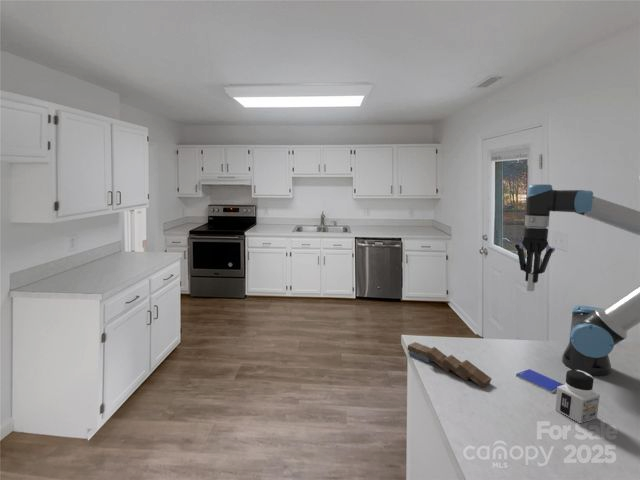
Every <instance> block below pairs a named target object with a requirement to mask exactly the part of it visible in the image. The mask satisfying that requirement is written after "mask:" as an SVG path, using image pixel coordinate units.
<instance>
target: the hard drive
mask: <svg viewBox="0 0 640 480" xmlns="http://www.w3.org/2000/svg"><path fill="white" fill-rule="evenodd" d="M515 377H517V378H518V379H520V380H523V381H525V382H527V383H529V384H531V385H532V386H535V387H537V388H539V389H541V390H544V391H546V392H548V393H550V394H552V393H554V392H557V391H556V390H557V387H558V386H562V385H565V384H564V383H562V382H559V381H557V380H555V379H552V378H550V377H548V376H545V375H544V374H541V373H540V372H537V371H535V370H533V369H531V368H529V369H526V370H523V371H520V372H517V373H516V374H515Z"/></svg>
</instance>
